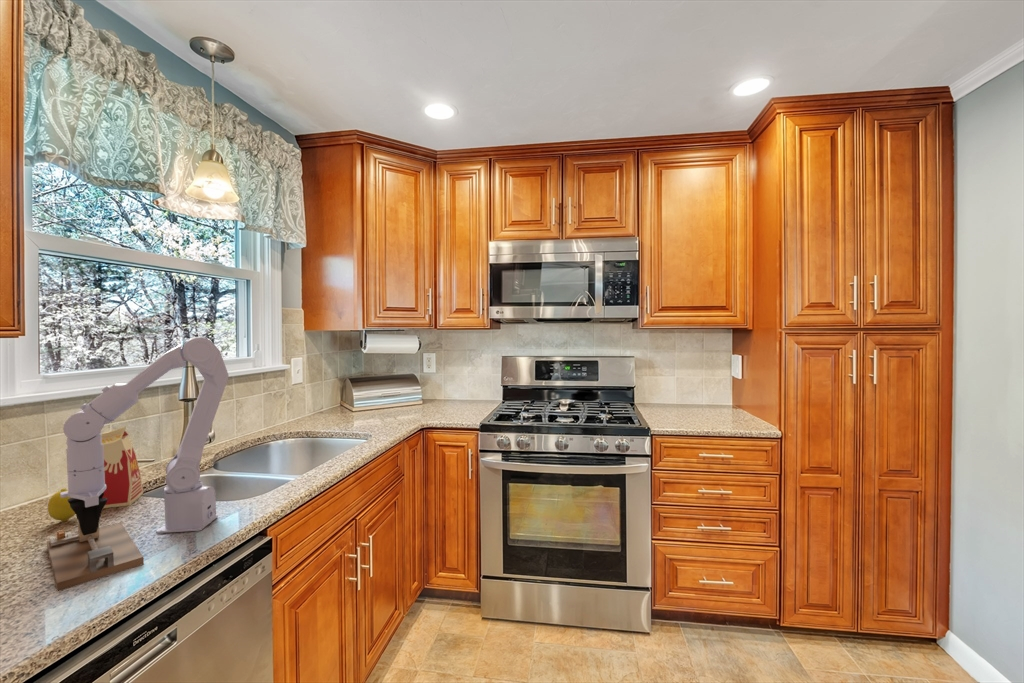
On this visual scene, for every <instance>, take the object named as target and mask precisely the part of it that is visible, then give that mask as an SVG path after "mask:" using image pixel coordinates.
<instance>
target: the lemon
mask: <svg viewBox="0 0 1024 683" xmlns="http://www.w3.org/2000/svg"><path fill="white" fill-rule="evenodd" d="M66 491H68V488H67V489H66V488H62V489H60V490H59V491H56V492H55V493H53V495H52V496H51V497H50V499H49V500H48V502H47V503H48V504H47V513H48V514H49V516H50V517H51V518H52V519H54V520H56V521H60V522H63V523H65V522H68V521H69V519H71V518H72V517H74V516H76V514H75V512H74V511H73V510H72V509H71V507H70V503H69V502H68V499H70V498H71V497H64V498H61V496H60V493H62V492H66Z"/></svg>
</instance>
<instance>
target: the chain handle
mask: <svg viewBox="0 0 1024 683" xmlns="http://www.w3.org/2000/svg"><path fill="white" fill-rule="evenodd" d="M77 528H78V529H77V532H78V535H75V536H72V535H73V534H72V532H71V531H70V532H66V536H67V538H63V539H60V540H56V541H55V539H56V538H55V536H50V537H49V540H50V543H51V546H54V545H58V544H61V543H65V542H69V541H73V540H77V539H79V541H80V542H83V541H87V540H88V542H89V544H90V547H91V549H92V550H96V549H98V547H97V545H96V542H95V540H94V538H98V537H99V528H100V524H99V525H98V529H97V532H96V533H92V534H88V535H83V534H82V531H81V528H80V524H79V520H77Z"/></svg>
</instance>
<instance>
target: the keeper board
mask: <svg viewBox="0 0 1024 683" xmlns="http://www.w3.org/2000/svg"><path fill="white" fill-rule="evenodd" d="M75 535H78V533H74V534H72V536H75ZM63 538H67V535H66V530H65V529H59V530H57V531H56V538H54V539H55V541H56V540H60V539H63ZM94 540H95V542H96V545H97V547H98V549H96V550H92V549H91V547H90V544H89V542H88V540H87V541H83V542H80V541H79V539H77V540H73V541H69V542H65V543H61V544H58V545H54V546H51V543H50V539H49V540H47V541H46V550H47V553H48V557H49V562H50V566H51V570H52V574H53V578H54V583H55V587H56V591H57V592H60V591H63V590H67V589H71V588H73V587H77V586H79V585H82V584H86V583H88V582H92V581H95V580H98V579H102V578H105V577H108V576H112V575H115V574H117V573H121V572H124V571H128V570H130V569H133V568H137V567H140V566H143V565H145V562H144V555H143V554H142V552H141V550H140V549H139V547H138V546H137V545H136V542H134V540H133V539H132V537H131V535H130V534H129V532H128V531H127V529H126V528H125V527H124V525H123V523H122V522H117V523H114V524H110V525H106V526H102V527H99V537H98V538H94Z"/></svg>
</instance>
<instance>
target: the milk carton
mask: <svg viewBox="0 0 1024 683" xmlns="http://www.w3.org/2000/svg"><path fill="white" fill-rule="evenodd" d="M126 428H127V426H126V425H125V426H122V427H119V428H117V429H114V430H110V431H107V432H101V435H102V443H103V450H104V472H105V484H106V490H105V491H104V496H103V497H102V498H107V502H106V504H105V506H104V508H103V509H108V508H117V507H126V506H127V507H128V506H130V505H132V504H133V503H134V502H135V501H136V500H138V499H139V498H140V497H141V496H142V495H143V494H144V490H143V488H144V487H143V482H142V474H141V470H140V466H139V462H138V459H137V454H136V451H135V448H134V446H133V444H132V440H131V438H130V435H129V433H127V431H126Z"/></svg>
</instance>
